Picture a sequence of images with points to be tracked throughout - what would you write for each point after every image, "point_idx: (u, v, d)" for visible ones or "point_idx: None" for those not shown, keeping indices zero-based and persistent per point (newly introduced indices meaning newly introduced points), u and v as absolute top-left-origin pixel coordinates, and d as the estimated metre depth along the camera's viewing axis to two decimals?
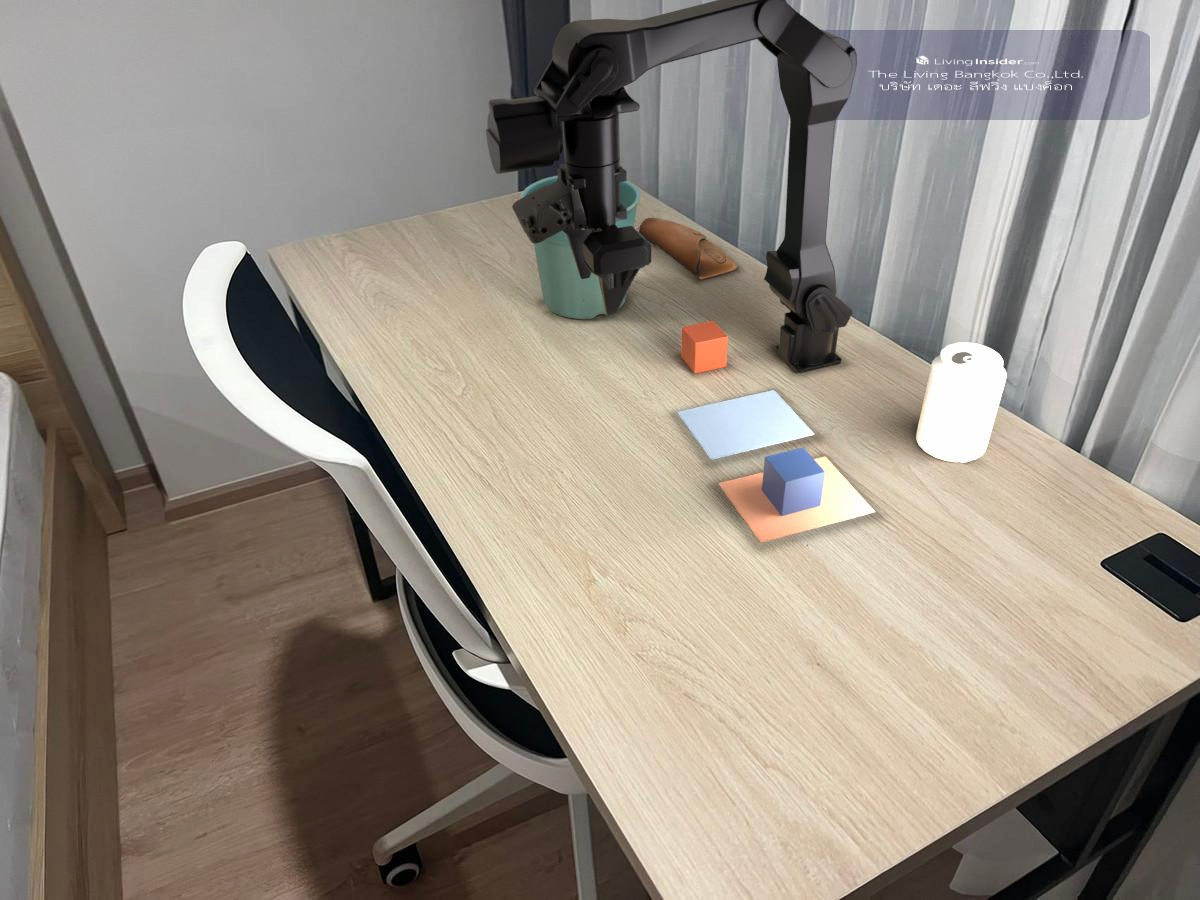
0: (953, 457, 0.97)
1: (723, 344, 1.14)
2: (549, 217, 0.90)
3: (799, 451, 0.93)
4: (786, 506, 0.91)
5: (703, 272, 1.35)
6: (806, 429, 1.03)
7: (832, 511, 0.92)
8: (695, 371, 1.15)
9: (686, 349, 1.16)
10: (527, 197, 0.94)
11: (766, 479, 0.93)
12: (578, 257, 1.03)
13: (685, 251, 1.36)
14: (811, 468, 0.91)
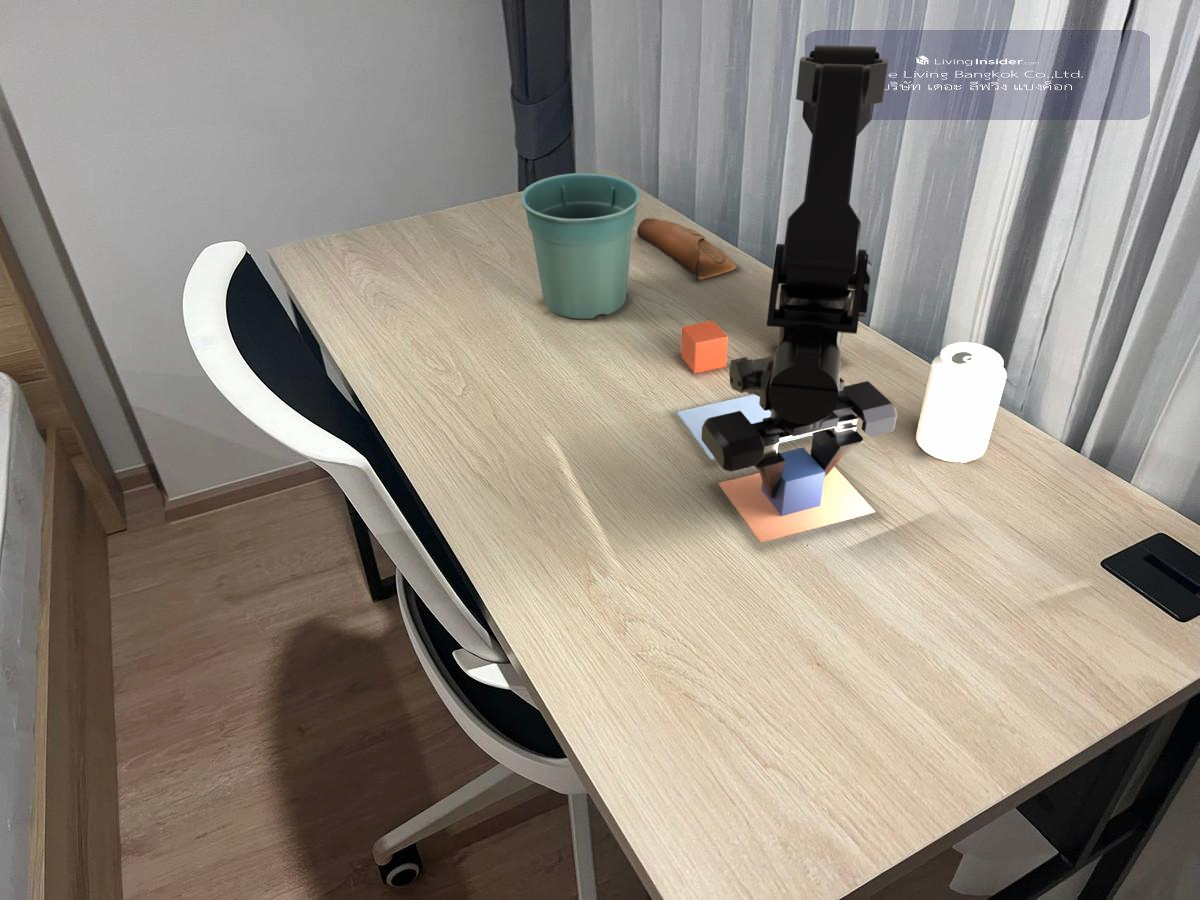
0: (953, 457, 0.97)
1: (723, 344, 1.14)
2: (735, 372, 0.90)
3: (799, 451, 0.93)
4: (786, 506, 0.91)
5: (702, 272, 1.35)
6: None
7: (832, 511, 0.92)
8: (695, 371, 1.15)
9: (686, 349, 1.16)
10: None
11: None
12: None
13: (684, 251, 1.36)
14: (811, 468, 0.91)
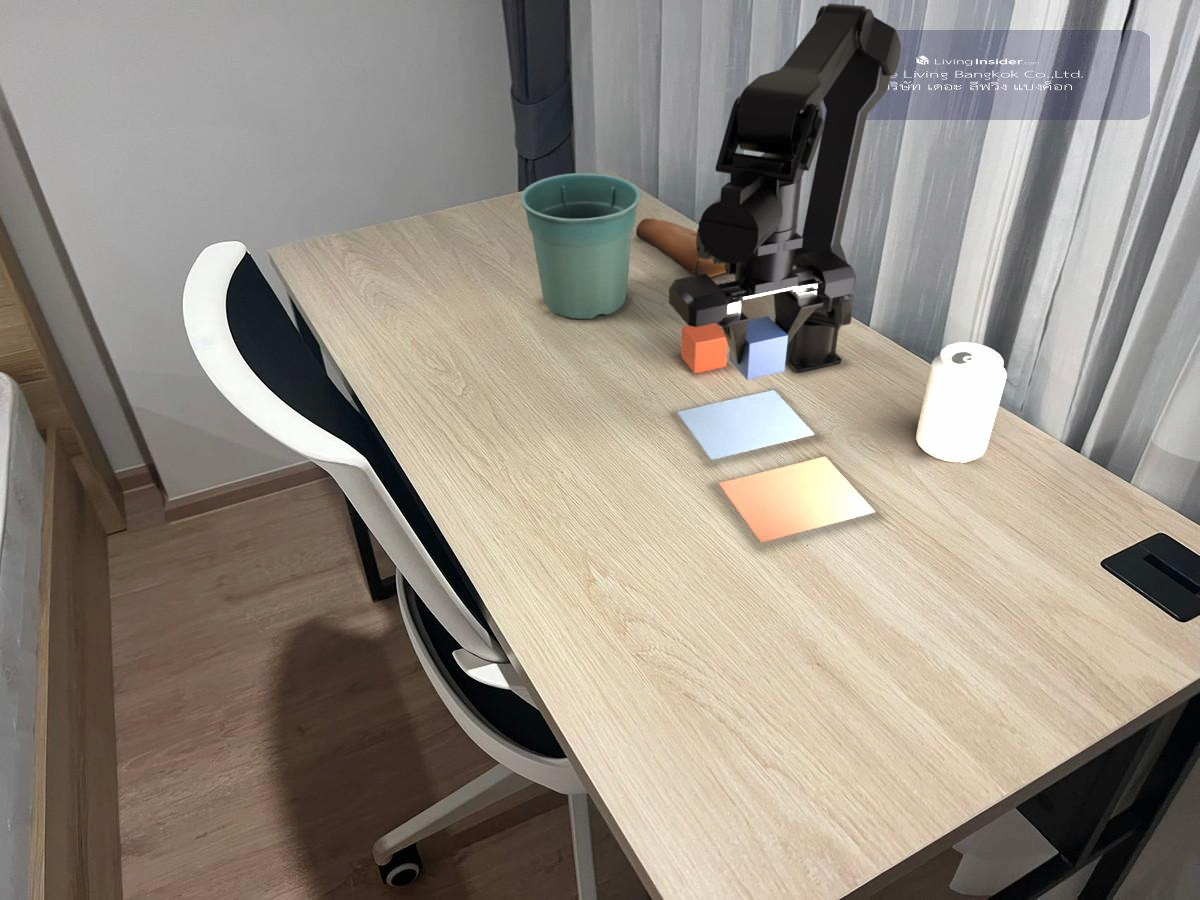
0: (953, 457, 0.97)
1: (723, 344, 1.14)
2: (701, 240, 0.94)
3: (764, 319, 0.97)
4: (751, 369, 0.95)
5: (702, 272, 1.35)
6: (806, 429, 1.03)
7: (832, 511, 0.92)
8: (695, 371, 1.15)
9: (686, 349, 1.16)
10: None
11: None
12: None
13: (684, 252, 1.36)
14: (775, 332, 0.95)
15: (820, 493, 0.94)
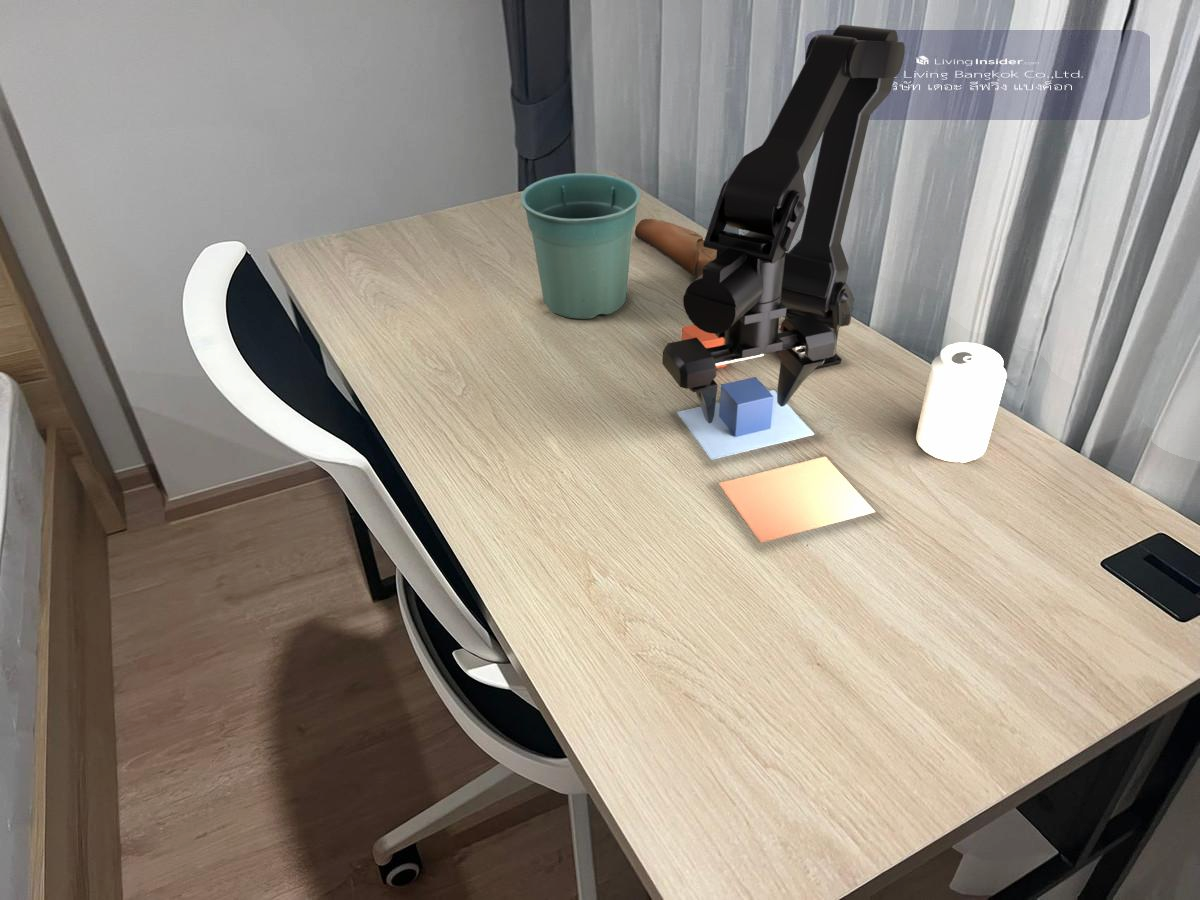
0: (953, 457, 0.97)
1: (723, 344, 1.14)
2: None
3: (751, 380, 1.04)
4: (739, 427, 1.02)
5: (701, 273, 1.35)
6: (806, 429, 1.03)
7: (832, 511, 0.92)
8: None
9: None
10: None
11: (722, 405, 1.04)
12: (781, 382, 1.04)
13: (683, 252, 1.36)
14: (761, 394, 1.02)
15: (820, 493, 0.94)
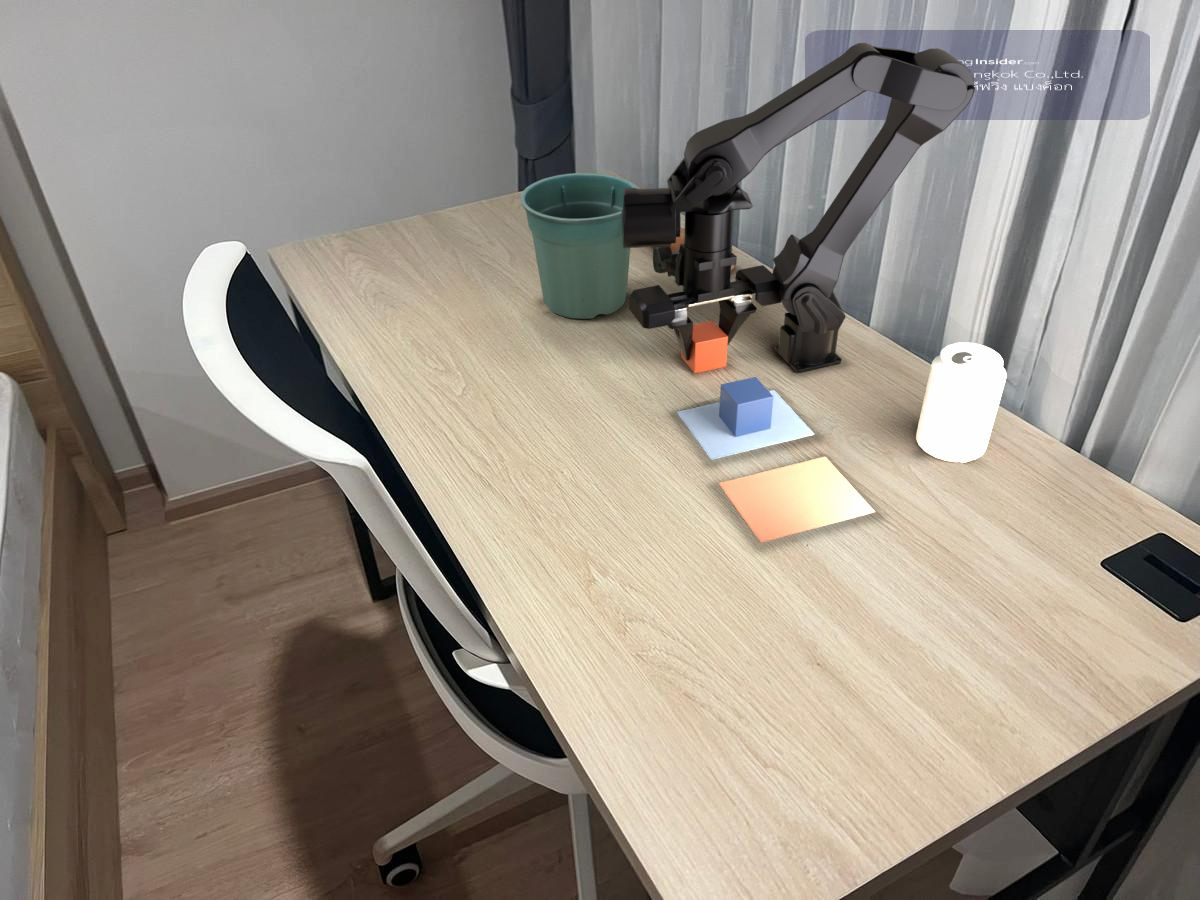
0: (953, 457, 0.97)
1: (723, 344, 1.14)
2: (656, 257, 1.13)
3: (751, 380, 1.04)
4: (739, 427, 1.02)
5: None
6: (806, 429, 1.03)
7: (832, 511, 0.92)
8: (695, 371, 1.15)
9: None
10: None
11: (722, 405, 1.04)
12: None
13: None
14: (761, 394, 1.02)
15: (820, 493, 0.94)
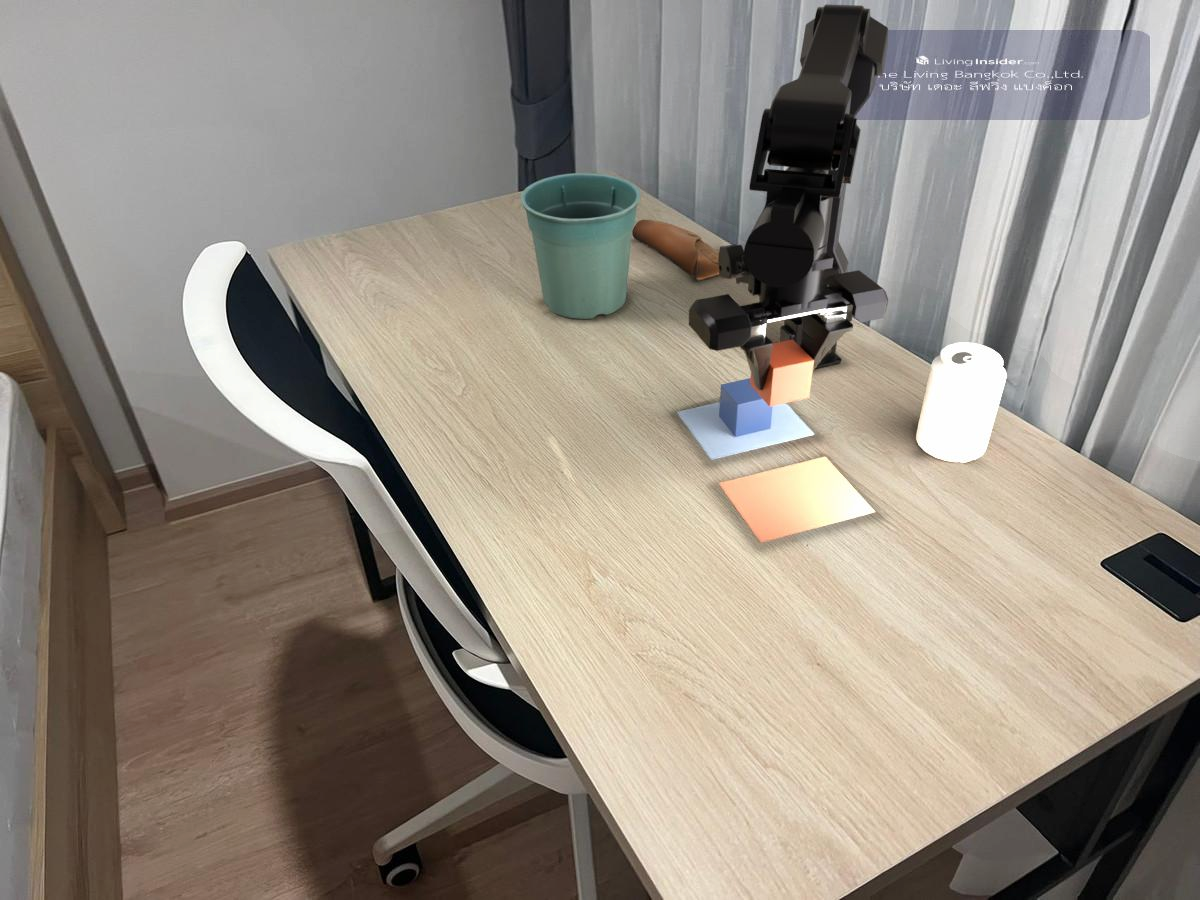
0: (953, 457, 0.97)
1: (807, 369, 0.89)
2: (723, 258, 0.89)
3: None
4: (739, 427, 1.02)
5: (700, 273, 1.35)
6: (806, 429, 1.03)
7: (832, 511, 0.92)
8: (770, 404, 0.90)
9: None
10: None
11: (722, 405, 1.04)
12: None
13: (682, 252, 1.36)
14: None
15: (820, 493, 0.94)
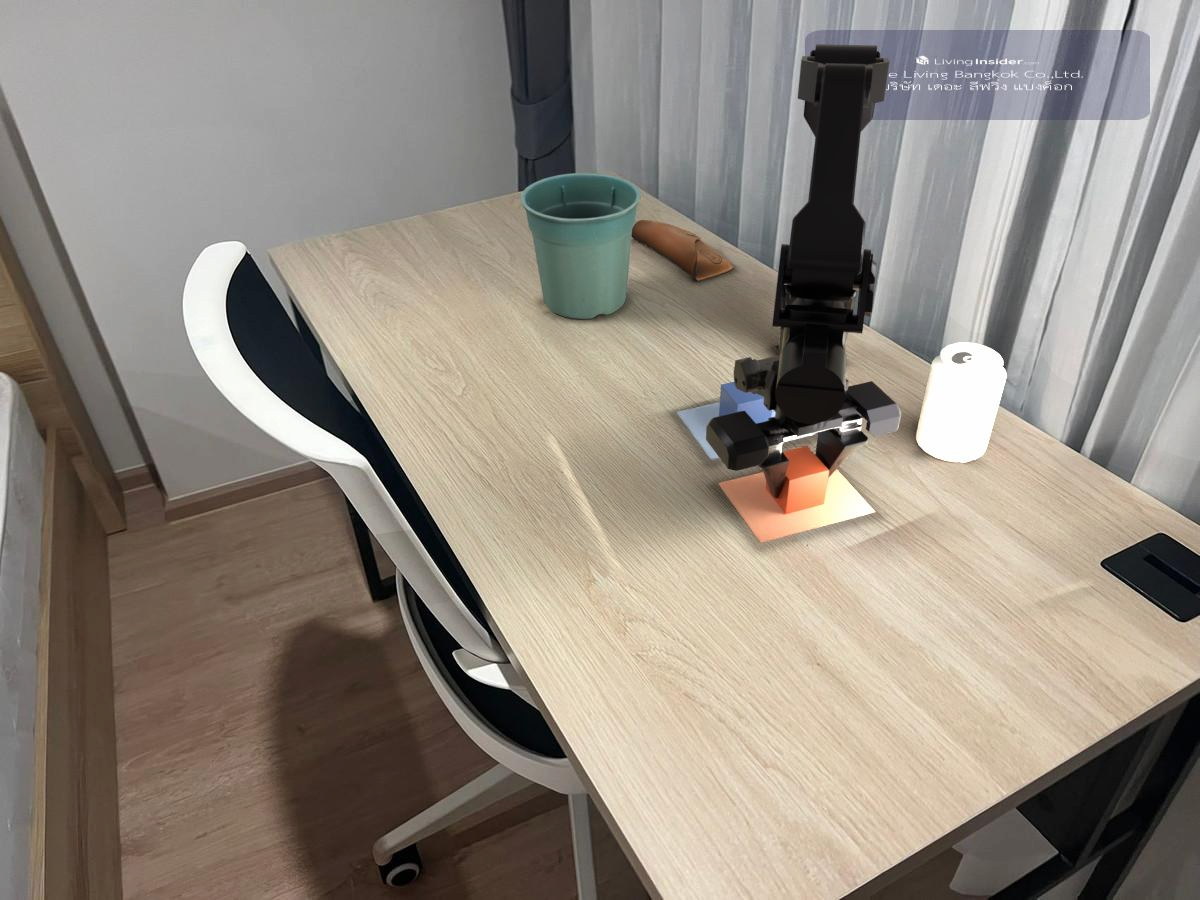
0: (953, 457, 0.97)
1: (823, 479, 0.91)
2: (739, 372, 0.90)
3: None
4: None
5: (700, 273, 1.35)
6: None
7: (832, 511, 0.92)
8: (786, 511, 0.92)
9: None
10: None
11: (722, 405, 1.04)
12: None
13: (681, 253, 1.36)
14: None
15: None
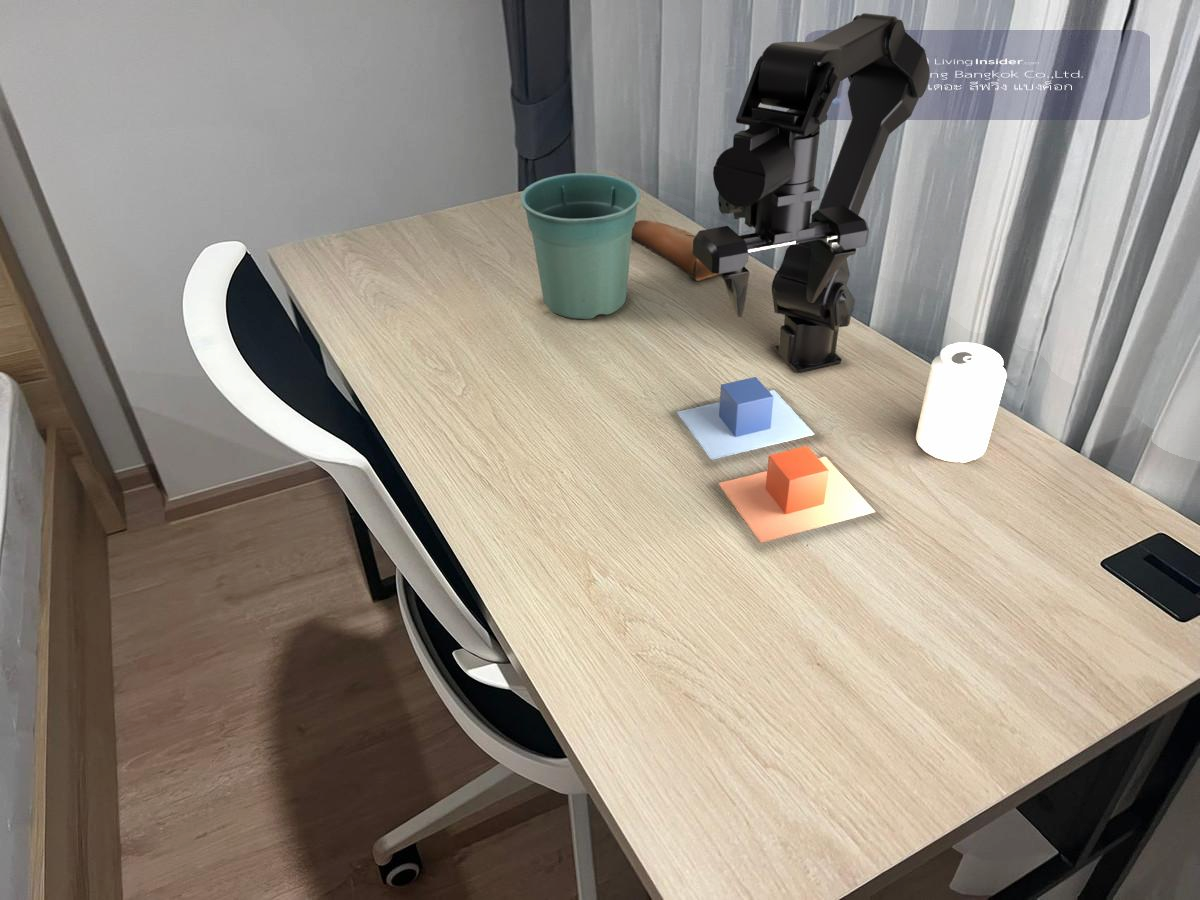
0: (953, 457, 0.97)
1: (823, 479, 0.91)
2: None
3: (751, 380, 1.04)
4: (739, 427, 1.02)
5: (699, 273, 1.35)
6: (806, 429, 1.03)
7: (832, 511, 0.92)
8: (786, 511, 0.92)
9: (774, 483, 0.93)
10: None
11: (722, 405, 1.04)
12: (810, 277, 1.03)
13: (680, 253, 1.36)
14: (761, 394, 1.02)
15: None
